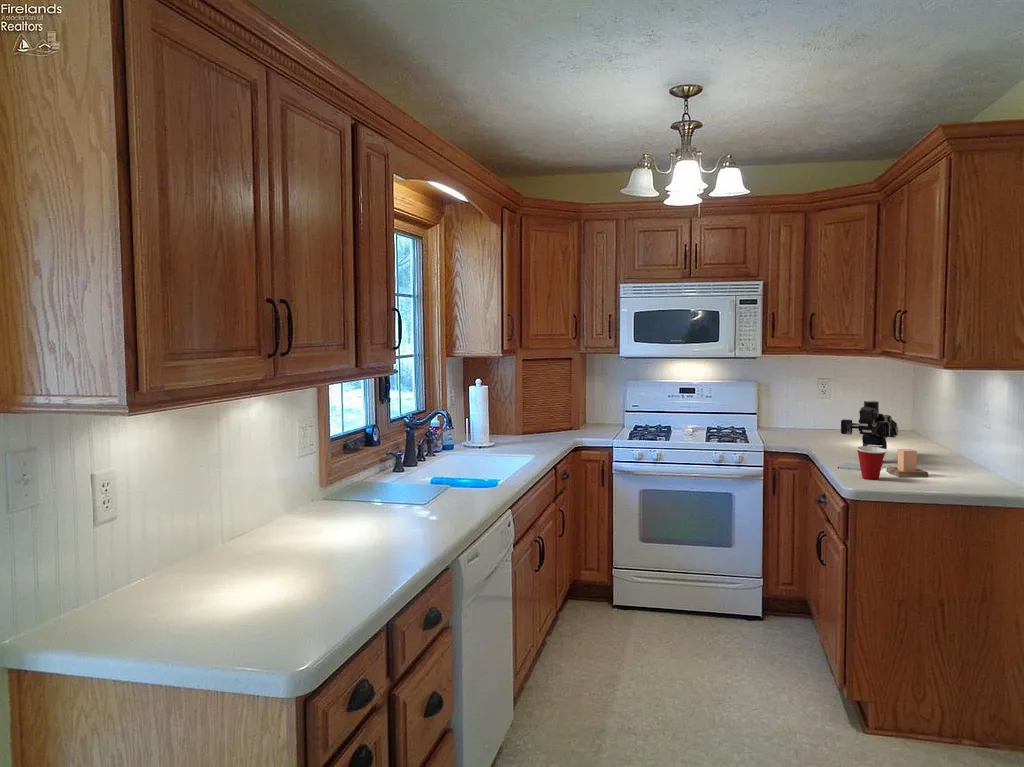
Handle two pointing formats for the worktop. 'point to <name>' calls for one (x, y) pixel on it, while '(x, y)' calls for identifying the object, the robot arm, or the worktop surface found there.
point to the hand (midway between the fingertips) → (859, 430)
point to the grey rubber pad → (850, 466)
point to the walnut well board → (907, 472)
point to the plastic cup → (870, 461)
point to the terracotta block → (907, 460)
